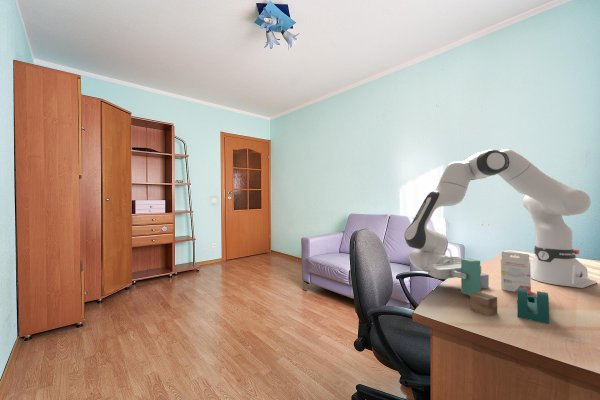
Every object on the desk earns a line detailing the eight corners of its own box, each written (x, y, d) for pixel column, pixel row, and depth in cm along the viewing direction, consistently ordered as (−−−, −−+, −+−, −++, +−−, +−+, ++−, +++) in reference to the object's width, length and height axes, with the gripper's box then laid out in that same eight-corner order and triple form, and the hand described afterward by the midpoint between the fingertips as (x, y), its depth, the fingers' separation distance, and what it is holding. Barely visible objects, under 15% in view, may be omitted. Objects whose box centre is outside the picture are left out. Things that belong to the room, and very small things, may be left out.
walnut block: (479, 307, 84) (479, 291, 84) (497, 313, 79) (497, 297, 79) (470, 310, 82) (470, 294, 81) (487, 316, 77) (487, 299, 77)
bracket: (549, 324, 72) (548, 296, 72) (517, 317, 76) (517, 291, 76) (544, 304, 86) (544, 280, 86) (517, 299, 90) (517, 277, 90)
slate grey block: (476, 283, 107) (476, 271, 107) (488, 287, 102) (488, 274, 102) (467, 284, 106) (467, 272, 106) (478, 288, 101) (478, 275, 101)
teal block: (470, 291, 94) (469, 258, 94) (480, 295, 90) (480, 260, 90) (461, 292, 93) (461, 259, 93) (471, 296, 89) (471, 261, 89)
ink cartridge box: (530, 291, 97) (530, 252, 97) (530, 295, 94) (530, 254, 94) (502, 286, 103) (502, 249, 103) (500, 289, 99) (500, 251, 99)
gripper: (420, 260, 101) (448, 269, 88) (461, 256, 107) (494, 264, 93) (420, 276, 101) (448, 287, 88) (461, 271, 107) (495, 282, 93)
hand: (472, 276), depth 91 cm, fingers closed on teal block, 4 cm apart
